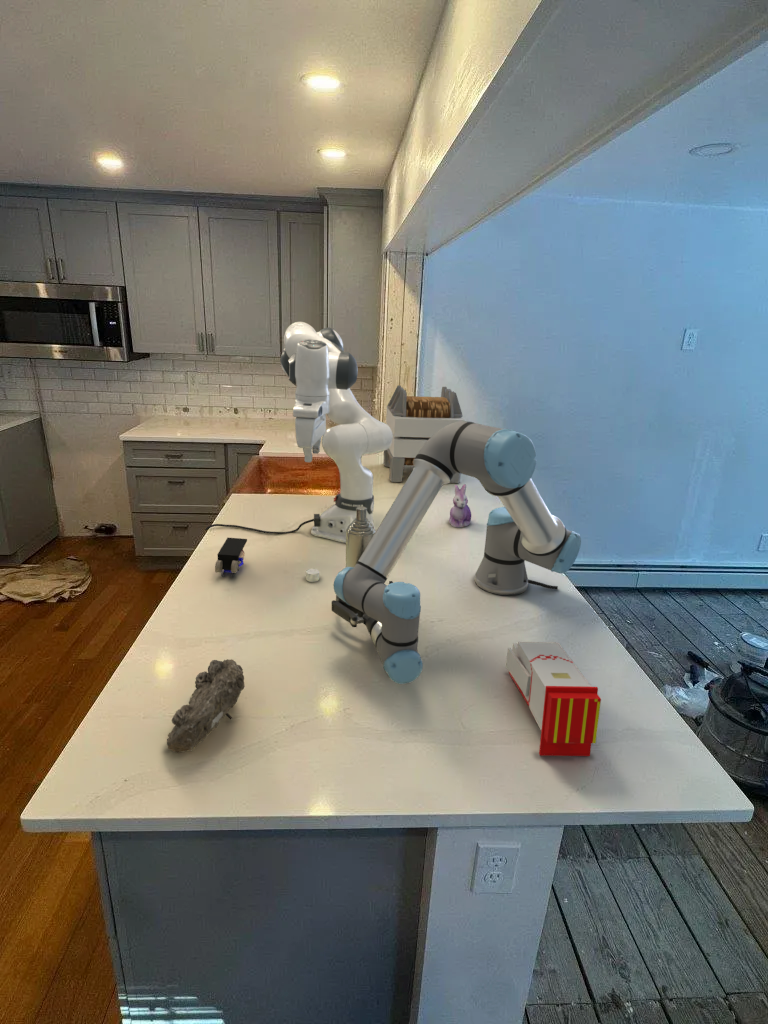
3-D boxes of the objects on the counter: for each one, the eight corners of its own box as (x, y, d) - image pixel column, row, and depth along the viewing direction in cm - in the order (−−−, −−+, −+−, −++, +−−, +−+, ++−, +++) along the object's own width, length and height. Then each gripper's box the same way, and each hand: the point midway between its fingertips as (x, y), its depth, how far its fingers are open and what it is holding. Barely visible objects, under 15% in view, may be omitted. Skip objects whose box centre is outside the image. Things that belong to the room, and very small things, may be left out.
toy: (554, 624, 127) (610, 694, 97) (548, 679, 130) (602, 763, 100) (500, 623, 126) (541, 693, 97) (496, 678, 129) (534, 763, 100)
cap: (316, 582, 162) (316, 575, 161) (303, 580, 163) (303, 573, 162) (321, 577, 166) (321, 569, 165) (308, 575, 166) (308, 567, 166)
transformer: (382, 463, 289) (386, 382, 275) (445, 464, 293) (451, 384, 279) (390, 482, 257) (394, 392, 243) (460, 483, 261) (468, 394, 247)
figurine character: (238, 584, 162) (249, 557, 175) (236, 562, 158) (247, 536, 172) (215, 584, 161) (227, 556, 175) (212, 561, 158) (225, 535, 171)
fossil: (192, 660, 117) (244, 628, 112) (224, 691, 120) (276, 661, 115) (142, 746, 98) (202, 712, 93) (182, 779, 101) (242, 748, 96)
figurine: (457, 529, 205) (460, 490, 200) (441, 520, 214) (444, 482, 209) (478, 526, 210) (482, 487, 205) (462, 517, 218) (465, 480, 213)
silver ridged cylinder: (347, 605, 151) (349, 513, 142) (342, 591, 158) (344, 503, 149) (375, 602, 153) (379, 512, 144) (369, 589, 160) (372, 502, 151)
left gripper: (309, 398, 157) (309, 447, 162) (290, 411, 138) (291, 466, 143) (331, 400, 157) (331, 449, 161) (316, 412, 138) (316, 467, 142)
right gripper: (331, 651, 125) (317, 604, 144) (437, 639, 132) (410, 596, 151) (331, 621, 123) (317, 578, 142) (440, 611, 129) (411, 571, 148)
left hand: (312, 457), depth 152 cm, fingers open, 8 cm apart
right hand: (365, 587), depth 146 cm, fingers open, 13 cm apart
